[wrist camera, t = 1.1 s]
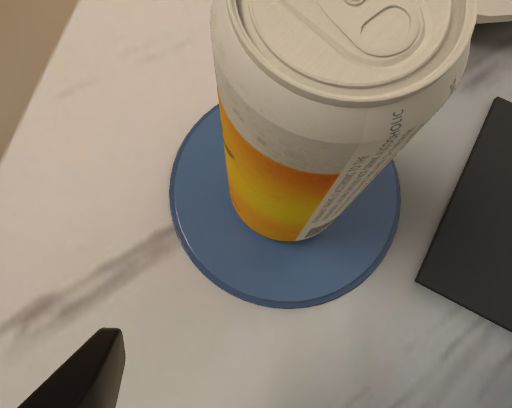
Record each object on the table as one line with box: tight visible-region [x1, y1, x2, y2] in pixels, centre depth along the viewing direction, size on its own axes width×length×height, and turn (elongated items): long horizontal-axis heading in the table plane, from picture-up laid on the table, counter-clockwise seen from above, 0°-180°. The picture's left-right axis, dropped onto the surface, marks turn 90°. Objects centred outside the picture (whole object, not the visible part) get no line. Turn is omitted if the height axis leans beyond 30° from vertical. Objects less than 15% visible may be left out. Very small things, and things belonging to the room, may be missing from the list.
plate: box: [169, 104, 400, 308], centre depth 24 cm, size 13×13×1 cm
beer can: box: [210, 0, 478, 241], centre depth 16 cm, size 6×6×15 cm
